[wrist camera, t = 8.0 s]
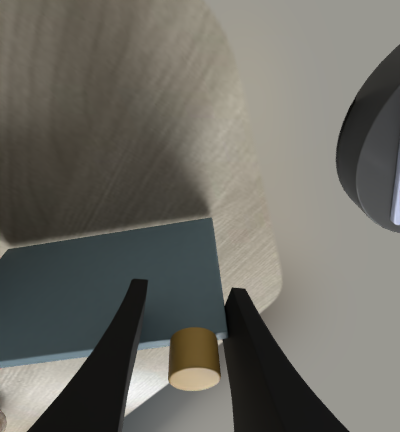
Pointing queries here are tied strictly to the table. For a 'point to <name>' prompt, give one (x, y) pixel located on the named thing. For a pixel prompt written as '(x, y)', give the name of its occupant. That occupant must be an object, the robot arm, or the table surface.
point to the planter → (2, 422)
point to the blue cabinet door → (117, 298)
